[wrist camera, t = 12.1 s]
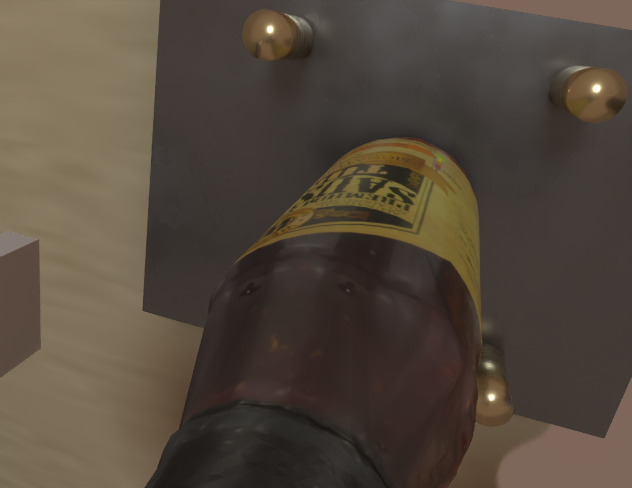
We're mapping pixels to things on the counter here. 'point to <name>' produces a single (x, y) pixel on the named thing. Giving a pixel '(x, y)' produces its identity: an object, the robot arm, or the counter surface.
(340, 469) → the sauce bottle
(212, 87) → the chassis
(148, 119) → the counter surface
